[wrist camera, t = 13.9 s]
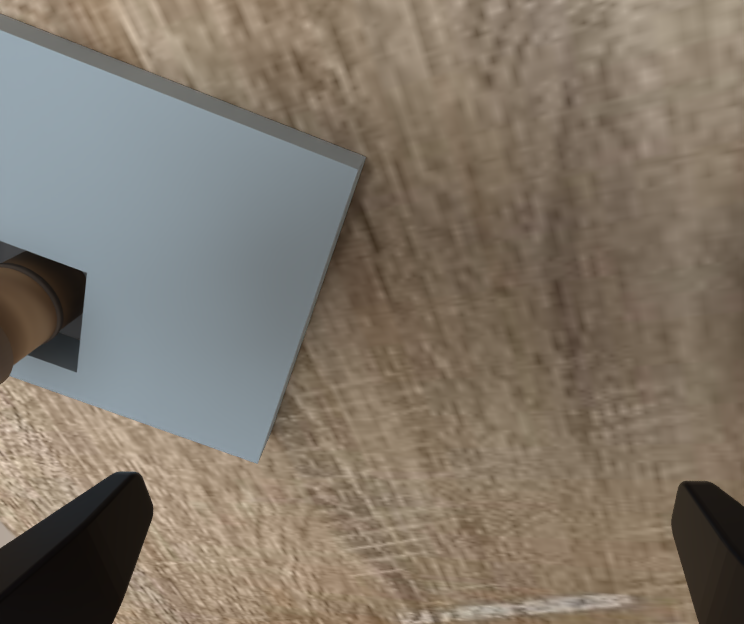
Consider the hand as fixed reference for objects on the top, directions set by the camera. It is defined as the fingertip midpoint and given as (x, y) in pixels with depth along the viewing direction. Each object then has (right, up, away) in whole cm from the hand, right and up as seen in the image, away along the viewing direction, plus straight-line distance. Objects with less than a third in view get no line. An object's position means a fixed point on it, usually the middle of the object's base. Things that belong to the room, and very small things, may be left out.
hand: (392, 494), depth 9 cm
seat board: (-10, +6, +13) cm, 18 cm away
